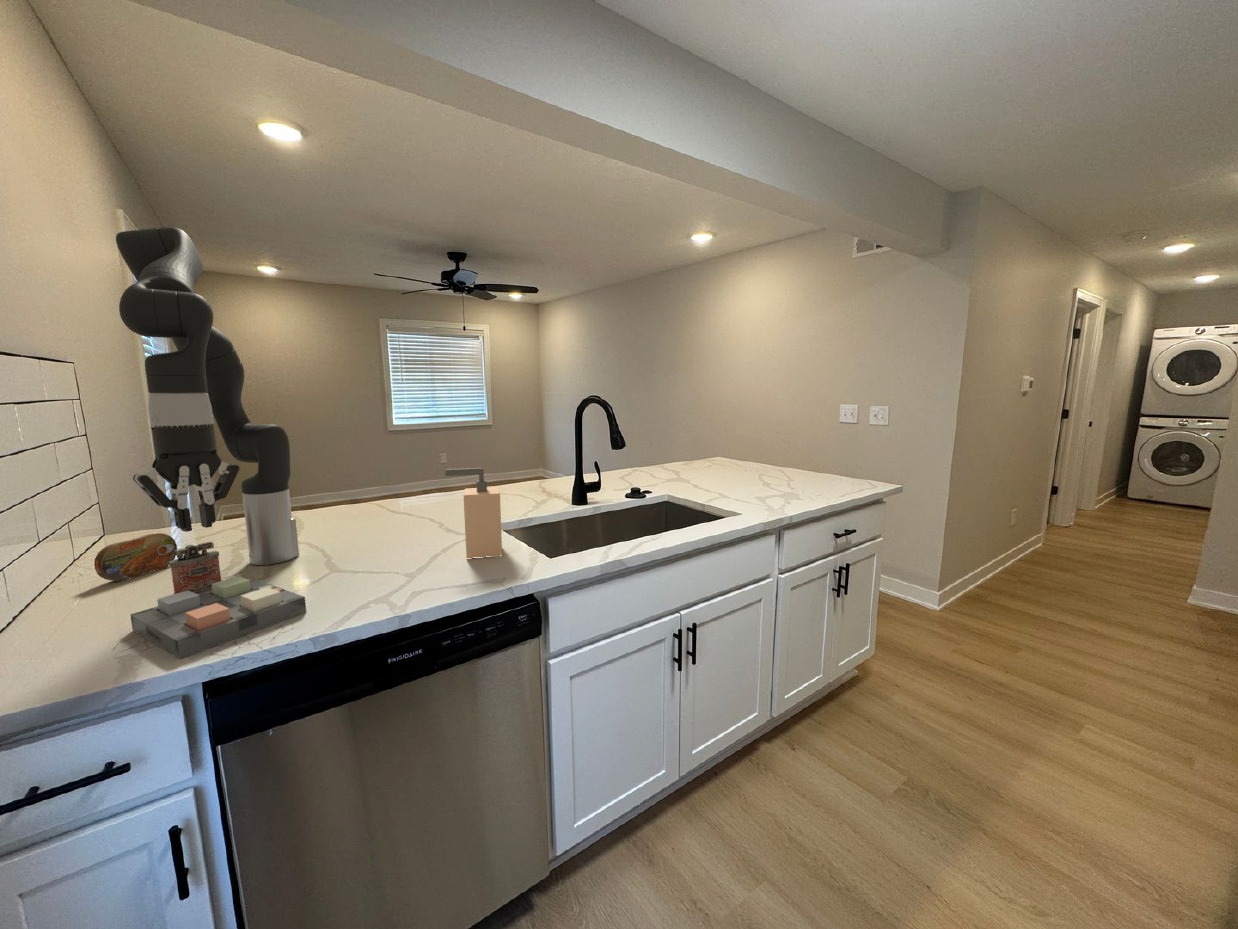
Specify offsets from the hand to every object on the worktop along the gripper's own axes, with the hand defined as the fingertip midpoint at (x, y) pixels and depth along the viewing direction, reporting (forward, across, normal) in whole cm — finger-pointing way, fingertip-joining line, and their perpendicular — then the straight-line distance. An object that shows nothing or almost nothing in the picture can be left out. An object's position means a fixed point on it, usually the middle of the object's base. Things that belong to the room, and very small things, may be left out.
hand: (196, 528), depth 81 cm
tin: (+19, -6, -50) cm, 53 cm away
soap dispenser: (+19, -54, +6) cm, 58 cm away
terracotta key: (+17, 0, 0) cm, 17 cm away
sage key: (+17, -8, -11) cm, 22 cm away
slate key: (+17, 0, -11) cm, 20 cm away
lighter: (+19, -8, -26) cm, 33 cm away
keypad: (+19, -4, -6) cm, 20 cm away
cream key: (+17, -8, 0) cm, 18 cm away
